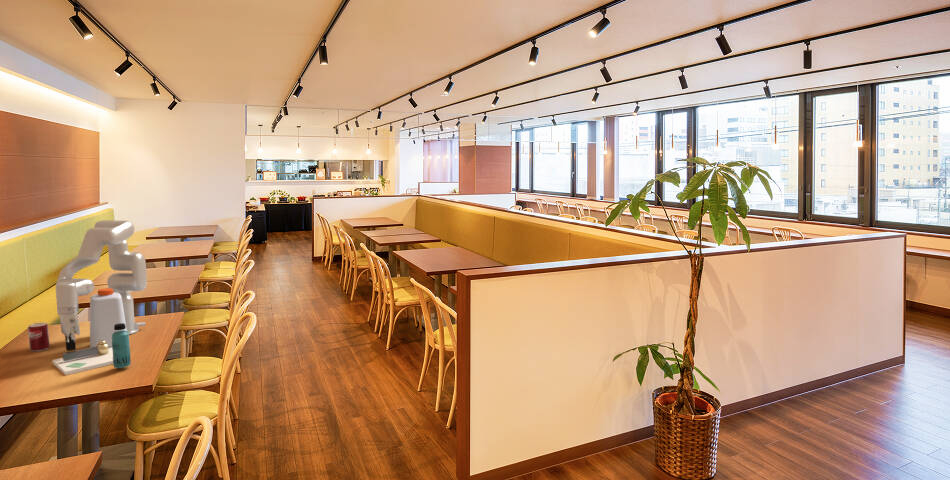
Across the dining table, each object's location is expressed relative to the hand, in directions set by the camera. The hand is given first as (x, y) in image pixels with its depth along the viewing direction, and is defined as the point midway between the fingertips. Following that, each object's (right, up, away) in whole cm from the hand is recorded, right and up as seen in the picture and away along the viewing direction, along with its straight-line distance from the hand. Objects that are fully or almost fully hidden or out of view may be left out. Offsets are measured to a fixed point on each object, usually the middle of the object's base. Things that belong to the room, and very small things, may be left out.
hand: (71, 349), depth 238 cm
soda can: (-25, -3, +13) cm, 28 cm away
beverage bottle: (+28, -7, -8) cm, 30 cm away
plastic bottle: (+4, -2, +20) cm, 20 cm away
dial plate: (+10, -5, -1) cm, 11 cm away
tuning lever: (+7, -3, 0) cm, 8 cm away
